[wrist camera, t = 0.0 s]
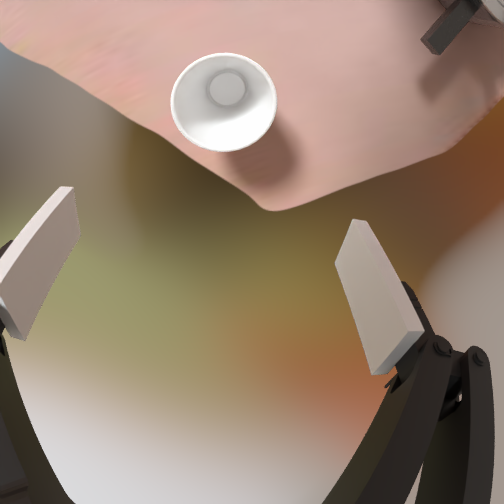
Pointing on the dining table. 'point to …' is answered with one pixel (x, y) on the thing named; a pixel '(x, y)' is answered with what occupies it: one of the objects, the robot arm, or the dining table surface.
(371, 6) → the dining table surface
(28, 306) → the robot arm
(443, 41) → the cooker pot
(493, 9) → the lid
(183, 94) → the cup
